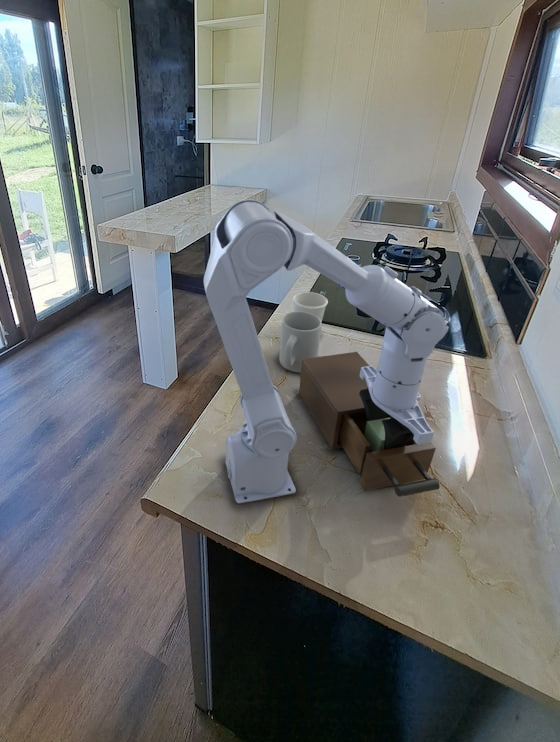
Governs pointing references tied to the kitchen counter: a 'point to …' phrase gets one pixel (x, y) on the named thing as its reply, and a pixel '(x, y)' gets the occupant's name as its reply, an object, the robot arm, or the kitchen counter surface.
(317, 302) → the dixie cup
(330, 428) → the cabinet
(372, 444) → the block
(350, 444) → the drawer
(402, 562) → the kitchen counter surface
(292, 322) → the mug
